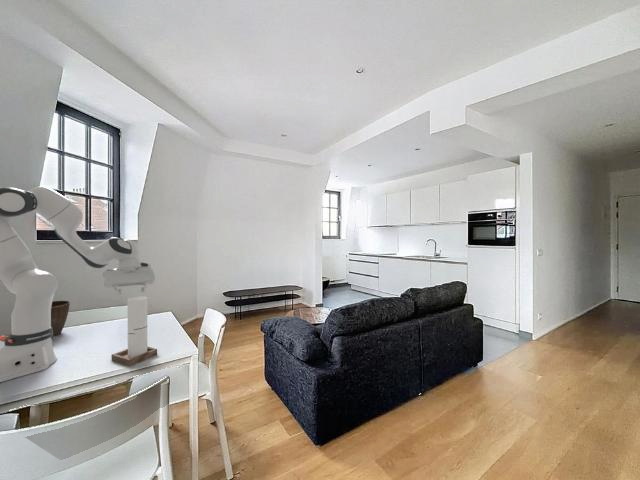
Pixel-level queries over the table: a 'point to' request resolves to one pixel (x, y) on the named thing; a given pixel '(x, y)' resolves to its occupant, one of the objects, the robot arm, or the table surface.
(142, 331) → the cylindrical container
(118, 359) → the wooden serving tray
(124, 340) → the table surface
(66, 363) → the table surface
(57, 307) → the plant pot
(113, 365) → the table surface
